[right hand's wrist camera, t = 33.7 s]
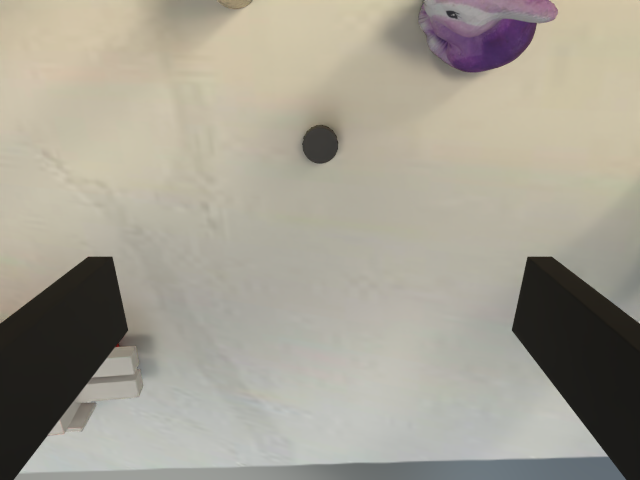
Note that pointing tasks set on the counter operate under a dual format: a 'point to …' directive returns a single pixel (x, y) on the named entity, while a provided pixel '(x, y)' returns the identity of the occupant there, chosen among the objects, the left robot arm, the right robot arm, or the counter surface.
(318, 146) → the cap
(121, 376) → the toy
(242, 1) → the bottle
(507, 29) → the figurine
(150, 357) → the counter surface
